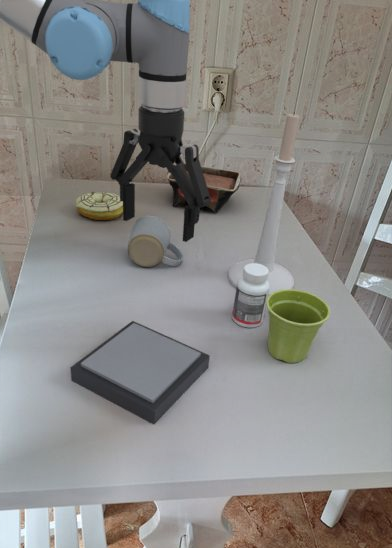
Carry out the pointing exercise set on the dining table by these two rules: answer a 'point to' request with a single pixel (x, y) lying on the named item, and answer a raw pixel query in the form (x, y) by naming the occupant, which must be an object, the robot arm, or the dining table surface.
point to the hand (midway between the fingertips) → (157, 228)
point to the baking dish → (211, 186)
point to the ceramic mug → (152, 243)
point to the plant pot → (294, 323)
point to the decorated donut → (100, 205)
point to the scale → (140, 370)
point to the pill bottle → (251, 296)
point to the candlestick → (273, 218)
